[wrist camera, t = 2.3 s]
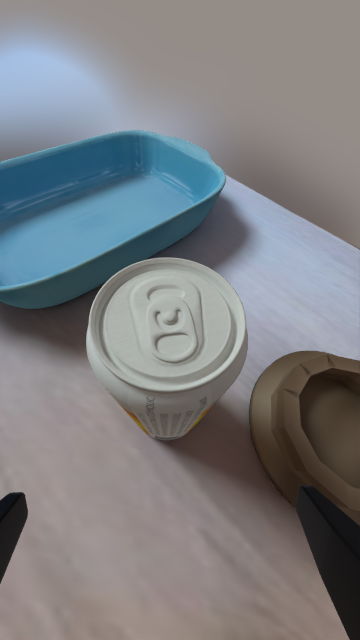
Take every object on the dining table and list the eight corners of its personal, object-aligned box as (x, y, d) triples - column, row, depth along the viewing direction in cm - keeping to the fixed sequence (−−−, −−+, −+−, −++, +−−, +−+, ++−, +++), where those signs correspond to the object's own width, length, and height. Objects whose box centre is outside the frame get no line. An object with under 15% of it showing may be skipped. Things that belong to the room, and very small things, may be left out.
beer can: (193, 366, 22) (230, 245, 10) (207, 434, 19) (287, 388, 6) (131, 374, 22) (81, 255, 9) (135, 446, 19) (66, 424, 6)
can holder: (429, 421, 21) (473, 415, 18) (386, 593, 15) (442, 627, 12) (292, 330, 25) (309, 313, 22) (217, 434, 19) (227, 430, 16)
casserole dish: (151, 163, 44) (149, 115, 37) (242, 218, 36) (257, 169, 30) (-68, 248, 29) (-131, 193, 23) (5, 371, 21) (-59, 337, 15)
